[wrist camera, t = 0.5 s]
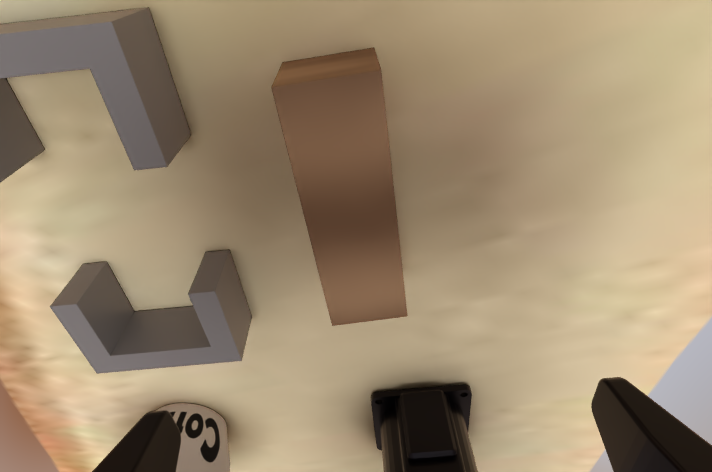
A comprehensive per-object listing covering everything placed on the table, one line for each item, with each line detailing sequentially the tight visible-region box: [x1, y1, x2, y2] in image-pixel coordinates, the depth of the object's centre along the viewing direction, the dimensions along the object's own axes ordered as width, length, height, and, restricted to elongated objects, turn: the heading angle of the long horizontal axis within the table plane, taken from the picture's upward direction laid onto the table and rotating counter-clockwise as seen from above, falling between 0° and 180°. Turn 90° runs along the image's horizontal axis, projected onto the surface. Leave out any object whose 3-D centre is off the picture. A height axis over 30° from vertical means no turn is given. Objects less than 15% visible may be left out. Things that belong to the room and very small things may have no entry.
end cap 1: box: [0, 7, 191, 182], centre depth 15 cm, size 5×7×3 cm, turn 96°
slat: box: [272, 48, 407, 326], centre depth 18 cm, size 11×4×4 cm, turn 8°
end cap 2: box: [50, 250, 252, 373], centre depth 21 cm, size 5×7×3 cm, turn 96°
